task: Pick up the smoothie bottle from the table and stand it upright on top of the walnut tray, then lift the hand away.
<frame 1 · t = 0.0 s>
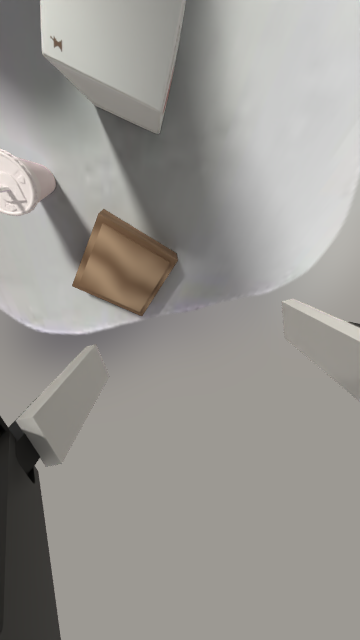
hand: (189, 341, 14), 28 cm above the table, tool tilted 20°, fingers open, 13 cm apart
supplement box: (135, 74, 25), on the table
smoothie: (42, 179, 30), on the table
walnut tray: (126, 265, 39), on the table
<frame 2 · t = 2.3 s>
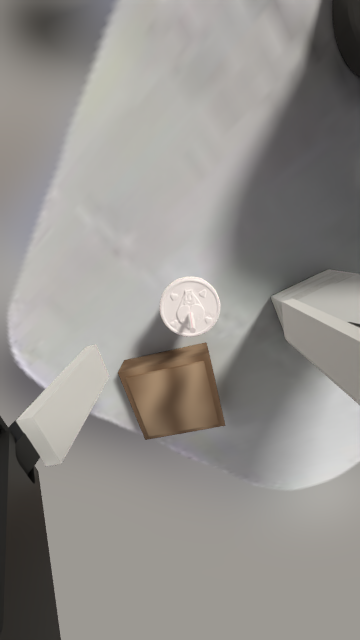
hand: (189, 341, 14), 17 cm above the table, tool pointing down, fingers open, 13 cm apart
supplement box: (306, 307, 31), on the table
smoothie: (187, 290, 30), on the table
walnut tray: (175, 385, 36), on the table
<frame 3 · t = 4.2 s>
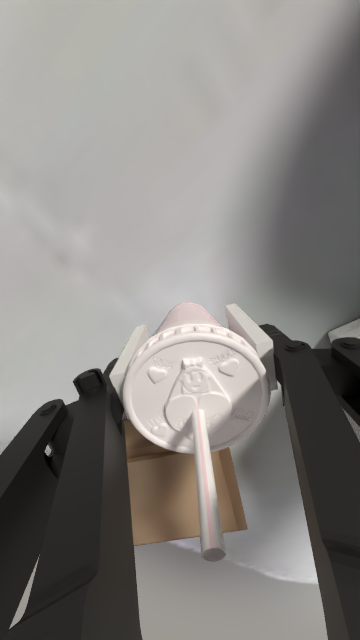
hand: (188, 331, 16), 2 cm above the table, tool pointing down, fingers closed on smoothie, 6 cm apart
smoothie: (187, 321, 18), on the table, touching gripper
walnut tray: (168, 461, 23), on the table
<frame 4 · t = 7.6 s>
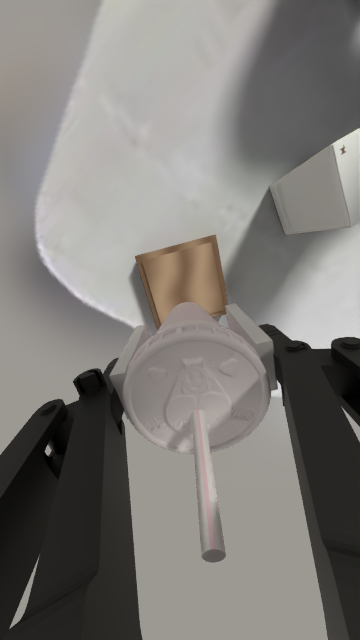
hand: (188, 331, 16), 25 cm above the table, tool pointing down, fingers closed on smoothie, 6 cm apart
supplement box: (300, 199, 35), on the table
smoothie: (187, 321, 18), point 23 cm above the table, touching gripper
walnut tray: (184, 282, 40), on the table
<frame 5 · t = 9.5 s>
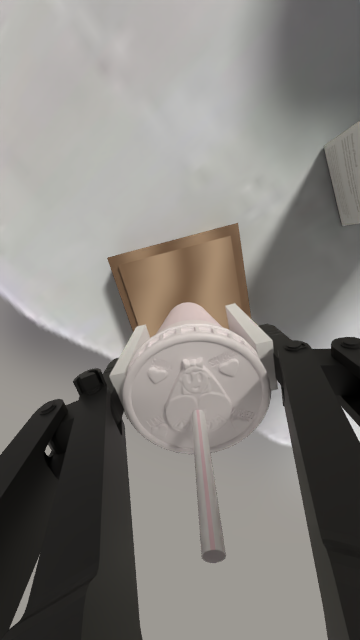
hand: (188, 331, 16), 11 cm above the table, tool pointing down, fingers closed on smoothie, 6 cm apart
smoothie: (187, 322, 18), point 9 cm above the table, touching gripper
walnut tray: (185, 297, 27), on the table
when the fingers open (7 cm above the table, at t = 11.1 s): smoothie drops 1 cm, resting on walnut tray.
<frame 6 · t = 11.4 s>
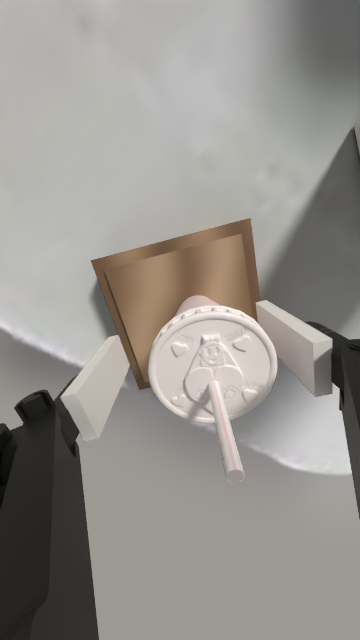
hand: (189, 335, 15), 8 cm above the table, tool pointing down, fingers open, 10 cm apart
smoothie: (197, 314, 19), point 4 cm above the table, touching walnut tray
walnut tray: (185, 306, 23), on the table
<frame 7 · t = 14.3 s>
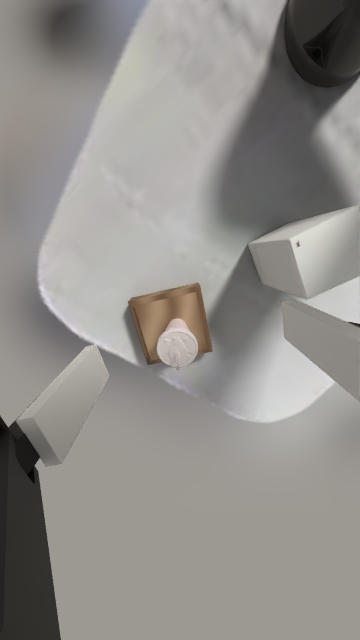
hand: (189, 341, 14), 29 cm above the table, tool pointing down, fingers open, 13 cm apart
supplement box: (275, 254, 40), on the table
smoothie: (177, 326, 40), point 4 cm above the table, touching walnut tray
walnut tray: (172, 321, 44), on the table
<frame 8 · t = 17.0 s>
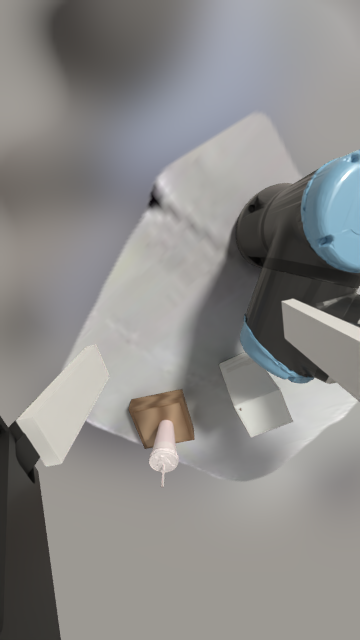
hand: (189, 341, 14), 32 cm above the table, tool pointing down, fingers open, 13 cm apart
supplement box: (240, 369, 52), on the table
smoothie: (166, 424, 53), point 4 cm above the table, touching walnut tray
walnut tray: (163, 414, 56), on the table
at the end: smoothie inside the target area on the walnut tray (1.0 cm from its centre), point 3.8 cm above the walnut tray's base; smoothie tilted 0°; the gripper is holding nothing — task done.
